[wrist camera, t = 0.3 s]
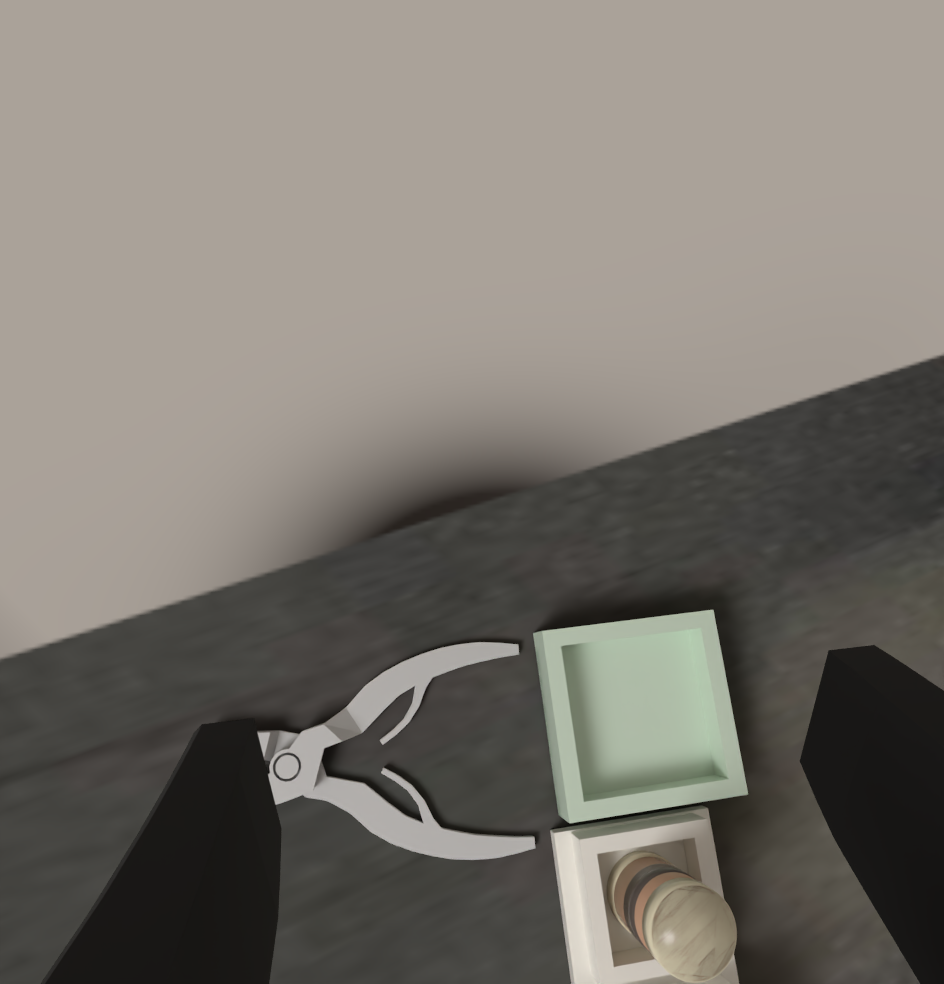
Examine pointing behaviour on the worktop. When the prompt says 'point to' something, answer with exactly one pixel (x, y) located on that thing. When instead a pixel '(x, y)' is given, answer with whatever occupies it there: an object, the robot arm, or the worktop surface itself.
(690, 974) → the cylinder
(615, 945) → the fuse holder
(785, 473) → the worktop surface
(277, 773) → the pliers
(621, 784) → the tray
